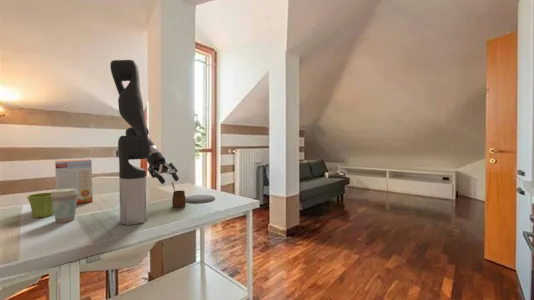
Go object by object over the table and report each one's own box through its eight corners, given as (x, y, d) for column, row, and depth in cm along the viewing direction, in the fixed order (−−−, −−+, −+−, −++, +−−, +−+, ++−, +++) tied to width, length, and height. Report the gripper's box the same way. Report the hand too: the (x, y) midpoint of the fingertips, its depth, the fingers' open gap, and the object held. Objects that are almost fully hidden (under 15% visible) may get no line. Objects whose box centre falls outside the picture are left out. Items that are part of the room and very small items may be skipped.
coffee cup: (45, 222, 100) (44, 191, 99) (68, 216, 108) (67, 187, 108) (61, 225, 98) (61, 193, 97) (84, 218, 106) (83, 188, 105)
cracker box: (91, 199, 136) (90, 158, 134) (92, 202, 131) (92, 159, 130) (56, 203, 127) (55, 160, 126) (56, 206, 122) (55, 161, 121)
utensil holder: (187, 206, 126) (187, 181, 125) (174, 208, 122) (174, 182, 121) (182, 203, 130) (182, 179, 130) (169, 205, 126) (169, 180, 126)
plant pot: (22, 217, 106) (21, 195, 105) (49, 211, 115) (48, 191, 114) (35, 220, 102) (34, 198, 102) (62, 214, 111) (62, 193, 110)
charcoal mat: (219, 200, 138) (219, 199, 138) (189, 204, 129) (189, 203, 129) (208, 194, 151) (208, 193, 151) (179, 198, 142) (179, 196, 142)
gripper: (145, 152, 124) (163, 178, 120) (168, 150, 137) (185, 174, 133) (137, 162, 127) (154, 189, 122) (161, 160, 140) (177, 184, 135)
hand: (170, 181), depth 128 cm, fingers open, 8 cm apart
